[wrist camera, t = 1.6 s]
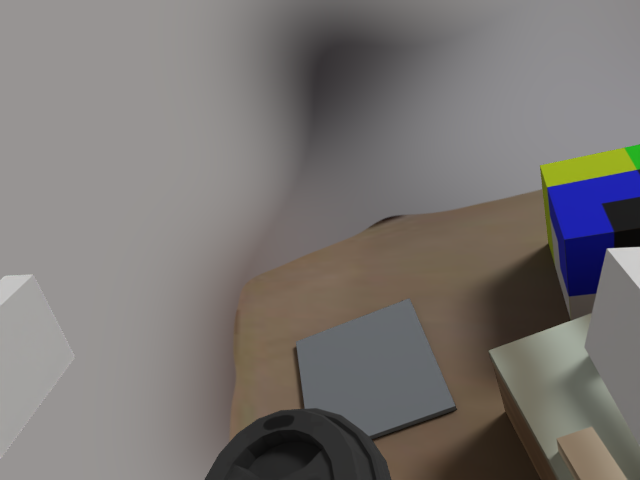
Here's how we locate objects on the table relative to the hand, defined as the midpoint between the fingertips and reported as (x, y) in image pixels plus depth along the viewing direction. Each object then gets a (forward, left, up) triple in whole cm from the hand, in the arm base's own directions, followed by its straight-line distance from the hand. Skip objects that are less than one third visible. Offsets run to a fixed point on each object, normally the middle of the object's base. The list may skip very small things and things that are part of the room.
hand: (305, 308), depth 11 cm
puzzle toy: (-22, -21, -30) cm, 43 cm away
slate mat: (+3, -20, -30) cm, 36 cm away
